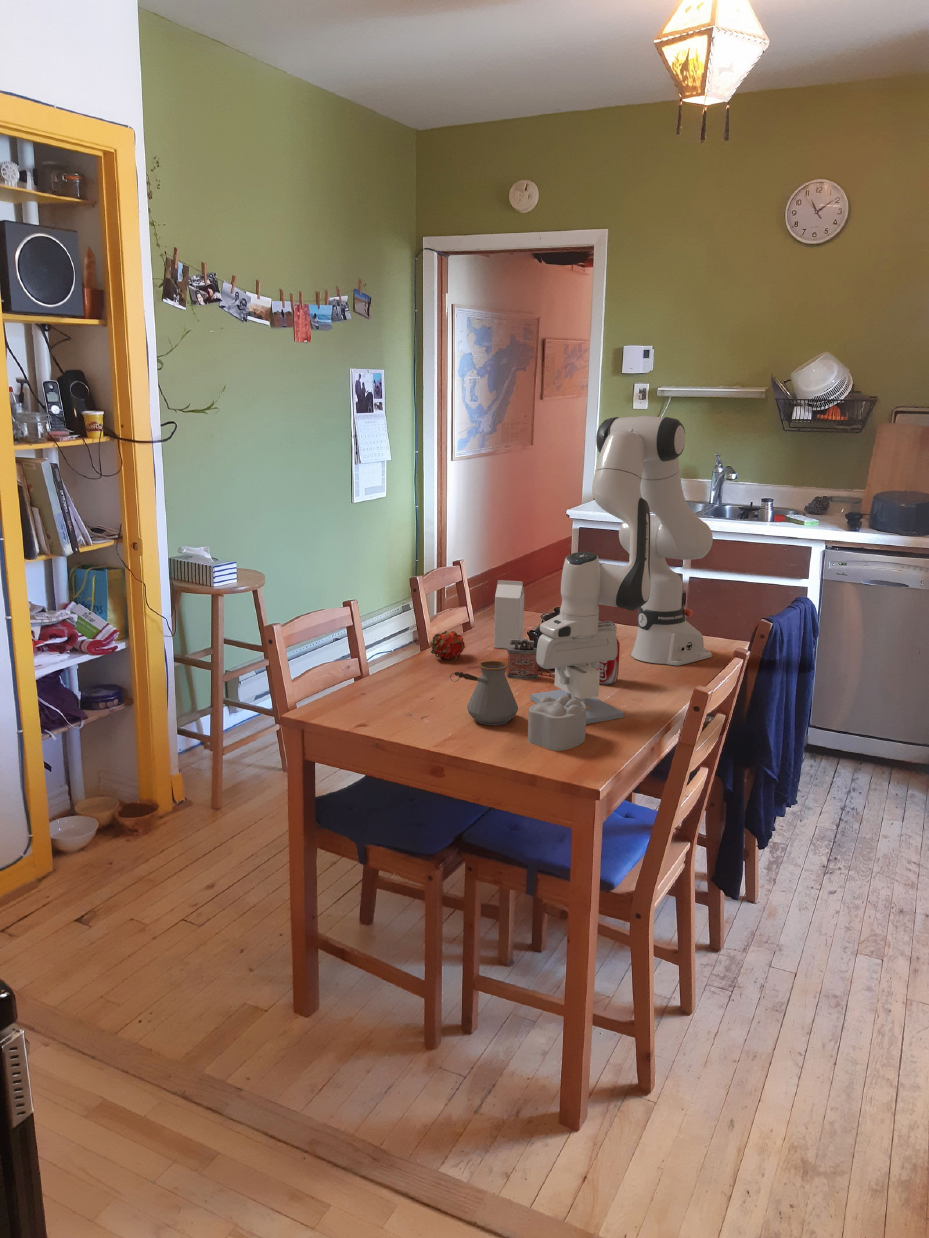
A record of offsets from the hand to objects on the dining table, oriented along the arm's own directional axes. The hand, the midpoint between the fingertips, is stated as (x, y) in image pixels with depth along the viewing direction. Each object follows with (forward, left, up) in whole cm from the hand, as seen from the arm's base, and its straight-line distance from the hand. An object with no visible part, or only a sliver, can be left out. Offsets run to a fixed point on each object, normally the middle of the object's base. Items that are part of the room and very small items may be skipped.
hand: (576, 682), depth 221 cm
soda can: (-18, -14, -7) cm, 23 cm away
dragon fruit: (+9, -49, -7) cm, 50 cm away
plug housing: (0, 0, -2) cm, 2 cm away
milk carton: (-12, -53, -7) cm, 55 cm away
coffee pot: (+25, +1, -7) cm, 26 cm away
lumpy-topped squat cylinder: (+13, +15, -7) cm, 21 cm away
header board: (0, 0, -6) cm, 6 cm away
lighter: (-1, -26, -7) cm, 27 cm away
